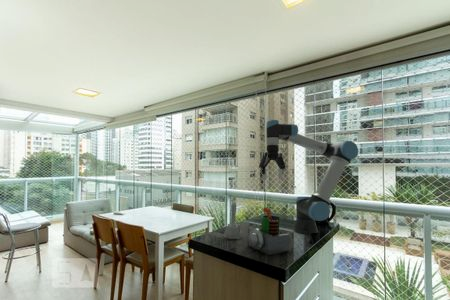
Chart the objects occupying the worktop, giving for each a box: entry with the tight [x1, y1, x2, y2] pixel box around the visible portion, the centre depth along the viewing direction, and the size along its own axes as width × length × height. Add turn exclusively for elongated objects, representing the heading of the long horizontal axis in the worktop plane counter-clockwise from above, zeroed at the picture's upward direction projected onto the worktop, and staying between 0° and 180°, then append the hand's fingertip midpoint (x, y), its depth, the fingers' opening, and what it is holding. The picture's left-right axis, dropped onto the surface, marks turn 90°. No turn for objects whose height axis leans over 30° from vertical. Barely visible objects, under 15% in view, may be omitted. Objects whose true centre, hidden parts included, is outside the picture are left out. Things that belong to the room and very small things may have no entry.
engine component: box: [224, 201, 242, 240], centre depth 142 cm, size 11×20×10 cm
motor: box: [260, 207, 281, 236], centre depth 122 cm, size 10×9×20 cm
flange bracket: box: [247, 227, 291, 256], centre depth 121 cm, size 18×16×10 cm
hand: (272, 179), depth 143 cm, fingers open, 13 cm apart
